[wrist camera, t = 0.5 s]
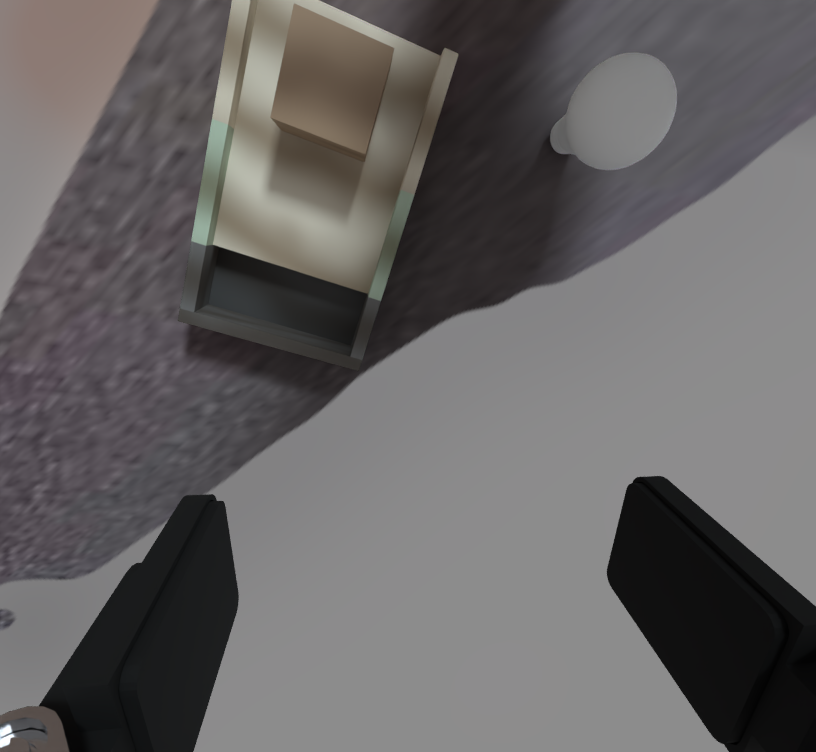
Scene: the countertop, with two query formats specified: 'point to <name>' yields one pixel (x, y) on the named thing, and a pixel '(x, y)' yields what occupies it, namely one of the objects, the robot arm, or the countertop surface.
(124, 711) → the robot arm
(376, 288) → the trap lane
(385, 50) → the walnut block
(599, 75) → the lightbulb
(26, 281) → the countertop surface
